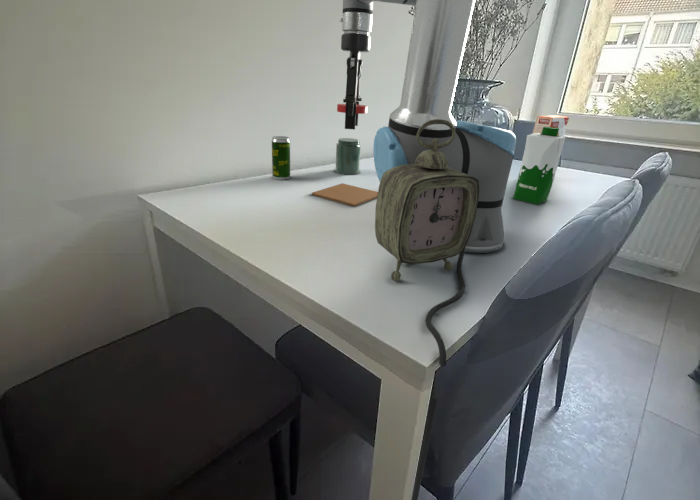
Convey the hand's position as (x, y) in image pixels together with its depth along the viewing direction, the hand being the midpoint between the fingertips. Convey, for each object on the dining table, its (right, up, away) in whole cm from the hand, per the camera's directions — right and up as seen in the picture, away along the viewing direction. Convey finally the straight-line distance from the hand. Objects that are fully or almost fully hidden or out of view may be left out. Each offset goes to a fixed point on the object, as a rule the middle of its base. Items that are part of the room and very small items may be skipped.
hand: (351, 127), depth 108 cm
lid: (0, +5, -2) cm, 5 cm away
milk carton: (+52, -20, +5) cm, 56 cm away
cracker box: (+68, -7, +34) cm, 76 cm away
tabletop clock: (+11, -37, -40) cm, 56 cm away
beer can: (-21, -12, +11) cm, 27 cm away
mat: (-1, -19, -1) cm, 19 cm away
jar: (-1, -8, +23) cm, 25 cm away
